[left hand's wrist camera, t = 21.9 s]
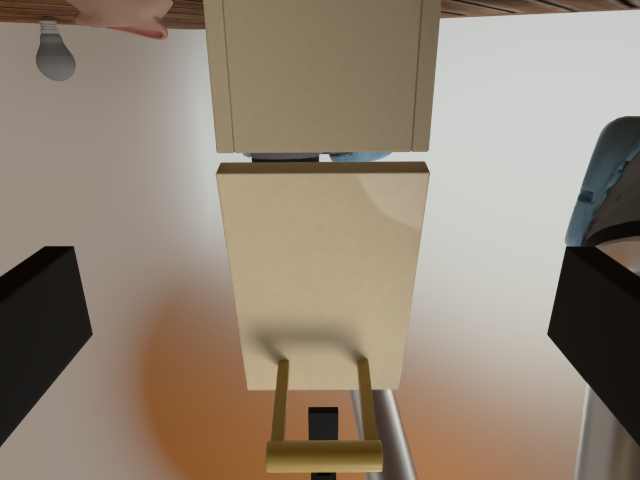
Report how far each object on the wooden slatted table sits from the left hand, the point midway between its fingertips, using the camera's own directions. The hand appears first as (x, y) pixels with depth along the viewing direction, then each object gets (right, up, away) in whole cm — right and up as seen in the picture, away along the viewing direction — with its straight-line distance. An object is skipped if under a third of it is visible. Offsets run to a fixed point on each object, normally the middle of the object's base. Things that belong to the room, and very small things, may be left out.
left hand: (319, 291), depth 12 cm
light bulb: (-46, +39, +64) cm, 88 cm away
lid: (0, -1, +15) cm, 15 cm away
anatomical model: (-22, +28, +38) cm, 53 cm away
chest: (0, +18, +13) cm, 22 cm away
